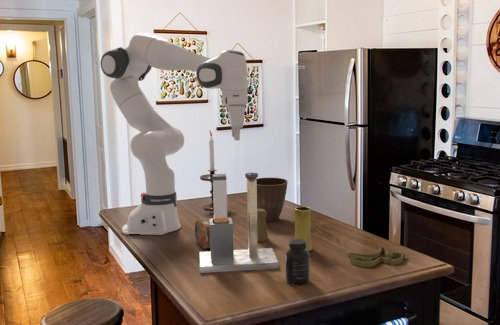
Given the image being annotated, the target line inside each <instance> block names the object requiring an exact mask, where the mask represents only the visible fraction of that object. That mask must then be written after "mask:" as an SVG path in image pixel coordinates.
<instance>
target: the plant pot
mask: <svg viewBox="0 0 500 325" xmlns="http://www.w3.org/2000/svg"><path fill="white" fill-rule="evenodd" d="M288 182H289V181H288V180H287V179H285V178H281V177H259V178H258V177H257V209H264V210H266V212H267V216H266V218H265V220H266V222H267V223H273V222H277V221H279V219H280V216H281V214H282V210H283V207H284V204H285V199H286V194H287V189H288Z"/></svg>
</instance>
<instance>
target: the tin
mask: <svg viewBox="0 0 500 325" xmlns="http://www.w3.org/2000/svg"><path fill="white" fill-rule="evenodd" d="M194 225H195V226H194V235H195V239H196V240H195V241H196V242H197V243H198V245H200V247H201V248H202V249H204V250H207V249H210V226H209V221H207V220H205V219H198V220H196V221H195V224H194Z"/></svg>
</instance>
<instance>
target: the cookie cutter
mask: <svg viewBox="0 0 500 325" xmlns="http://www.w3.org/2000/svg"><path fill="white" fill-rule="evenodd" d="M378 250H379V251H378V252H376V253H369V254H367V253H366V254H365V253H356V252H348V254H347V255H348V256H347V259H349V258H350V259H349V260H350V261H349V263H350V264H351V265H353V264H354V265H353V266H356V265H357V267H360V266H361V267H362V268H370V267H369V266H372V267H375V266H376V264H377V263H378V264H379V263H383V262H384V263H383V264H385V263H390V264H389V265H391V266H393V265H399V264H401V263H403V261H404V259H406V253H404V252H399V251H395V252H394V251H393V252H391V251H388V249H387V248H386V247H384V246H379V248H378ZM382 253H384V254H385V255H386V257H383V256H382ZM380 255H381V256H380ZM379 256H380V257H379ZM377 257H378V258H377ZM373 258H375V259H374V260H373ZM393 258H394V259H393ZM378 264H377V265H378ZM374 265H375V266H374Z"/></svg>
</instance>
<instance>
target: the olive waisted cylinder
mask: <svg viewBox="0 0 500 325" xmlns="http://www.w3.org/2000/svg"><path fill="white" fill-rule="evenodd" d="M266 216H267V212H266V210H264V209H257V231H258V242H265V241H268V240H269V235H268V234H269V233H268V227H267V223H266V220H265V218H266Z"/></svg>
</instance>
